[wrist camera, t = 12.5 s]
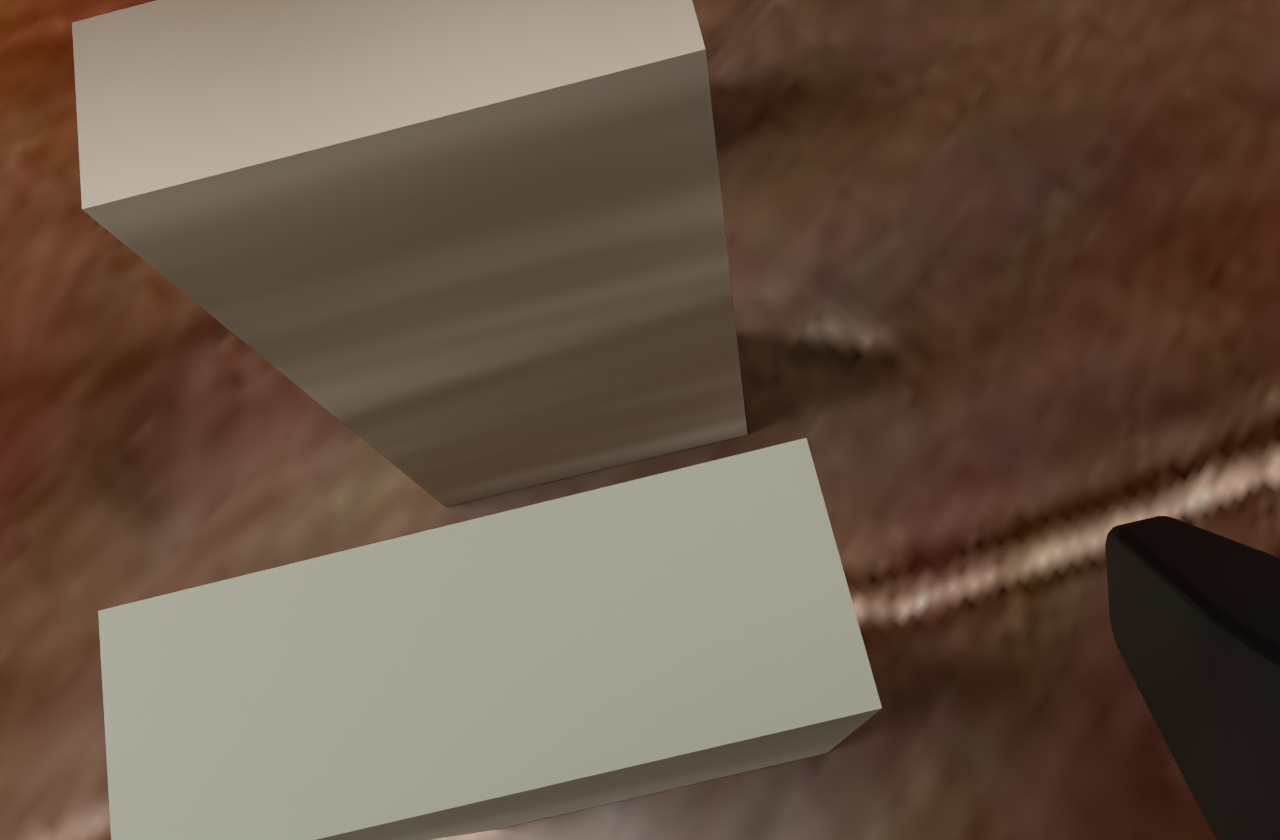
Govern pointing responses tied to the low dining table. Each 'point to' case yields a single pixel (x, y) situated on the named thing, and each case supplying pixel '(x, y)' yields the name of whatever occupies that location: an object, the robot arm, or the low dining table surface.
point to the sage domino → (493, 666)
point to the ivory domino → (435, 216)
